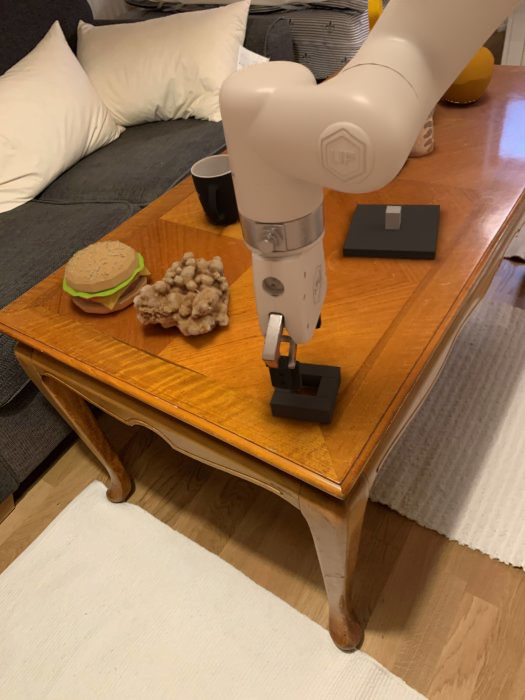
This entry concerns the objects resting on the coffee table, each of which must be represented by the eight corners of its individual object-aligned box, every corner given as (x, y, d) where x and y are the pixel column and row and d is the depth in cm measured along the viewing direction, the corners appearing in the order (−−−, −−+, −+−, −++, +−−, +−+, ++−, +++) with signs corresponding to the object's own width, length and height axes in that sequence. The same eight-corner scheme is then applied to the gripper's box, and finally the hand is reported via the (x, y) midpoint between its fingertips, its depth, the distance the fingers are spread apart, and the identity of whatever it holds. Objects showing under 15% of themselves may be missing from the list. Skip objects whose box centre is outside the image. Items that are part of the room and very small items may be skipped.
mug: (208, 206, 102) (196, 156, 95) (252, 203, 100) (243, 152, 94) (195, 239, 94) (181, 187, 87) (244, 236, 92) (233, 183, 85)
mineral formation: (133, 333, 77) (184, 269, 85) (213, 361, 73) (258, 292, 81) (120, 294, 70) (177, 230, 79) (207, 323, 67) (256, 253, 75)
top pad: (341, 379, 64) (340, 366, 62) (330, 424, 59) (329, 411, 58) (286, 373, 66) (284, 360, 65) (272, 416, 62) (269, 403, 60)
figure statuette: (391, 114, 122) (393, 5, 107) (358, 114, 125) (356, 7, 110) (406, 87, 133) (411, -16, 118) (376, 87, 136) (376, -13, 121)
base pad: (439, 212, 88) (441, 188, 85) (434, 259, 79) (437, 234, 76) (357, 211, 92) (356, 188, 89) (343, 256, 83) (341, 231, 80)
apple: (469, 115, 115) (476, 58, 107) (419, 106, 123) (423, 52, 115) (501, 95, 120) (509, 40, 112) (452, 88, 128) (457, 35, 120)
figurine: (435, 142, 108) (441, 80, 99) (430, 157, 103) (435, 94, 95) (401, 142, 110) (403, 82, 102) (394, 157, 106) (396, 95, 97)
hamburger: (114, 326, 79) (94, 284, 73) (55, 307, 85) (34, 267, 79) (166, 277, 86) (152, 236, 81) (109, 263, 92) (93, 223, 87)
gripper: (300, 281, 39) (314, 420, 51) (341, 175, 51) (344, 308, 63) (210, 274, 42) (243, 409, 53) (268, 174, 53) (285, 303, 65)
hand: (298, 354), depth 58 cm, fingers open, 9 cm apart
